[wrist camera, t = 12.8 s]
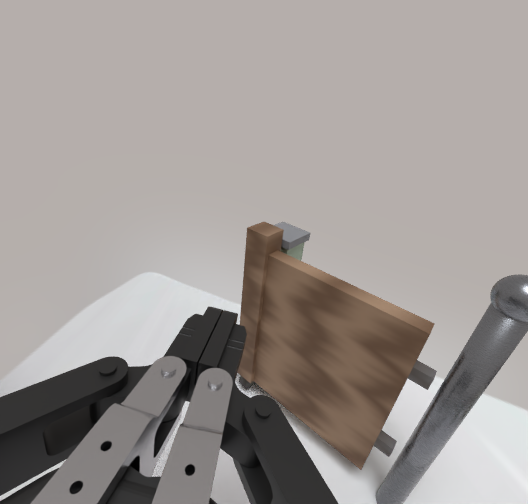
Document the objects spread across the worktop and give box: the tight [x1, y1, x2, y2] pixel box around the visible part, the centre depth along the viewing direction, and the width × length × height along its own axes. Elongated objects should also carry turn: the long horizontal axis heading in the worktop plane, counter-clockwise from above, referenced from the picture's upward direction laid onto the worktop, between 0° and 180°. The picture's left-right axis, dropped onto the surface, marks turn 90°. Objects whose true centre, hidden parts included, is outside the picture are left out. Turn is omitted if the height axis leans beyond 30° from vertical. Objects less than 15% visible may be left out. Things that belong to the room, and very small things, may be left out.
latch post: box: [273, 222, 310, 261], centre depth 34 cm, size 4×4×21 cm
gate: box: [237, 222, 437, 470], centre depth 27 cm, size 18×3×22 cm, turn 50°
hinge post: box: [376, 275, 528, 504], centre depth 21 cm, size 3×3×26 cm
